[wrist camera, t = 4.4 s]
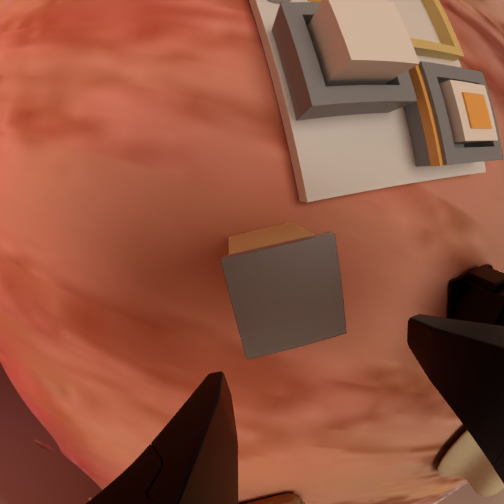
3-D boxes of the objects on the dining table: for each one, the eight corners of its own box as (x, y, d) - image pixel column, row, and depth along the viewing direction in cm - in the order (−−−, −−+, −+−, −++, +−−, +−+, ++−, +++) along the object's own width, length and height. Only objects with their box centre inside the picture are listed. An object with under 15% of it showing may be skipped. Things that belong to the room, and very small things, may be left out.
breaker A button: (463, 143, 17) (500, 140, 13) (428, 145, 17) (467, 140, 13) (451, 95, 17) (486, 85, 12) (416, 93, 16) (451, 78, 12)
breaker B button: (383, 84, 14) (419, 63, 10) (323, 86, 14) (351, 59, 10) (364, 30, 13) (393, 1, 9) (305, 29, 13) (325, -7, 9)
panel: (471, 171, 20) (514, 172, 15) (299, 201, 20) (326, 205, 14) (413, -8, 16) (442, -32, 11) (242, -21, 15) (247, -63, 10)
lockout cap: (307, 285, 21) (346, 333, 14) (239, 301, 21) (246, 359, 13) (295, 216, 20) (334, 233, 12) (222, 233, 20) (220, 259, 12)
